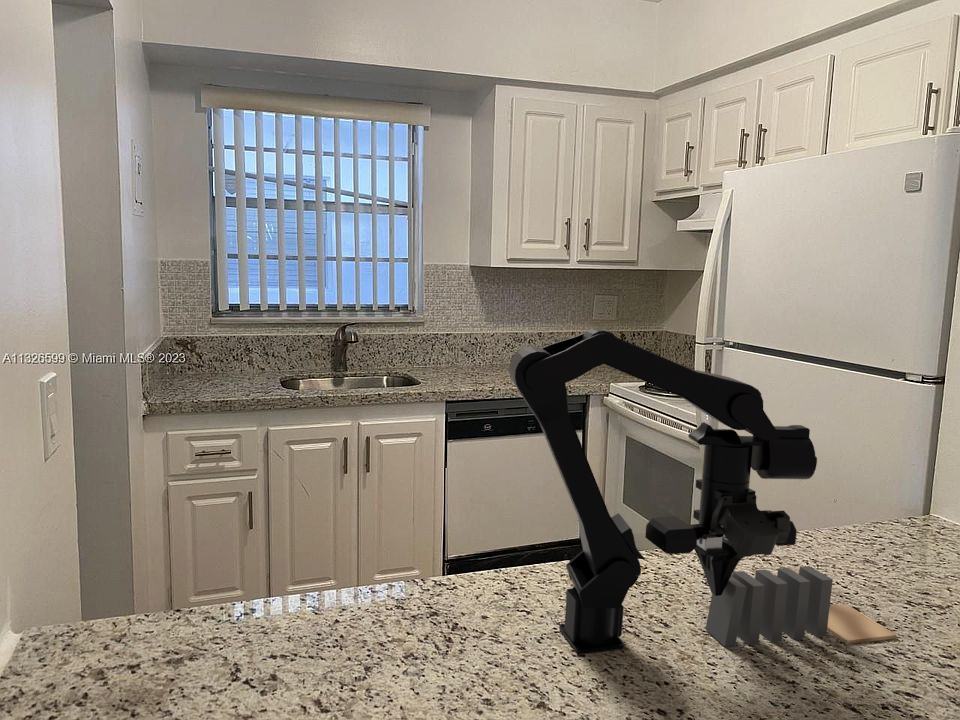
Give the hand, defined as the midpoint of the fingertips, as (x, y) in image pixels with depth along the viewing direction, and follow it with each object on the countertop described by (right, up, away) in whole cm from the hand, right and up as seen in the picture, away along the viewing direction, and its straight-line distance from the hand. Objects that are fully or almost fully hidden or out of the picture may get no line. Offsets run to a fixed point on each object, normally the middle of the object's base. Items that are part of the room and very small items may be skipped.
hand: (716, 594), depth 94 cm
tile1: (+1, -6, +1) cm, 6 cm away
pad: (+20, -6, +6) cm, 22 cm away
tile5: (+14, -6, +5) cm, 16 cm away
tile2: (+4, -6, +2) cm, 8 cm away
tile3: (+8, -6, +3) cm, 10 cm away
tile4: (+11, -6, +4) cm, 13 cm away
